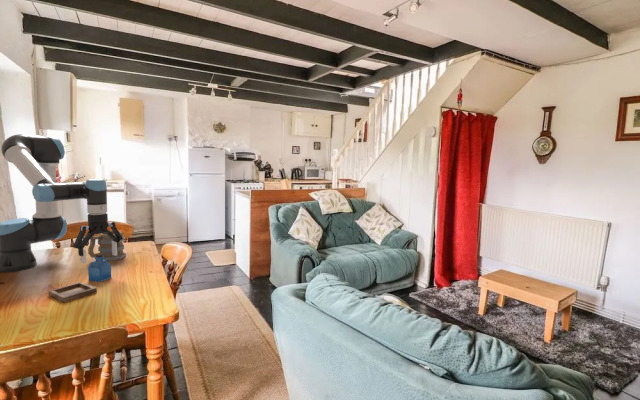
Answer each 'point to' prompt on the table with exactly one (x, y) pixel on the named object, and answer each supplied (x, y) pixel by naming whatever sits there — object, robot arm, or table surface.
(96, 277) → the perfume bottle
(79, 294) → the walnut tray
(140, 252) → the table surface
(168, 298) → the table surface
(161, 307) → the table surface
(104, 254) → the tankard
